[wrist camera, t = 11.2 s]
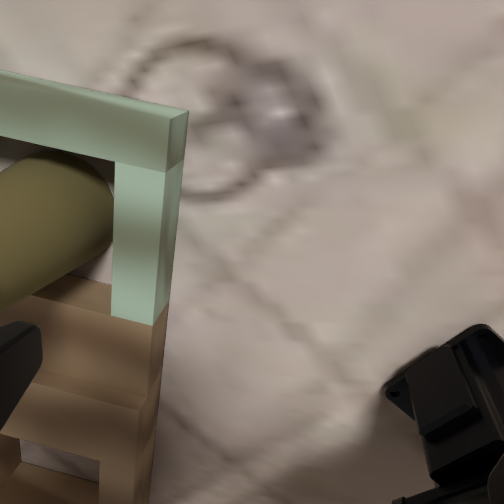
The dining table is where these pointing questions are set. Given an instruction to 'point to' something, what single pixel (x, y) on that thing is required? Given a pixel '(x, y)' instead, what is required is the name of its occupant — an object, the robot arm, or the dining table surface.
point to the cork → (49, 221)
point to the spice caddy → (98, 299)
